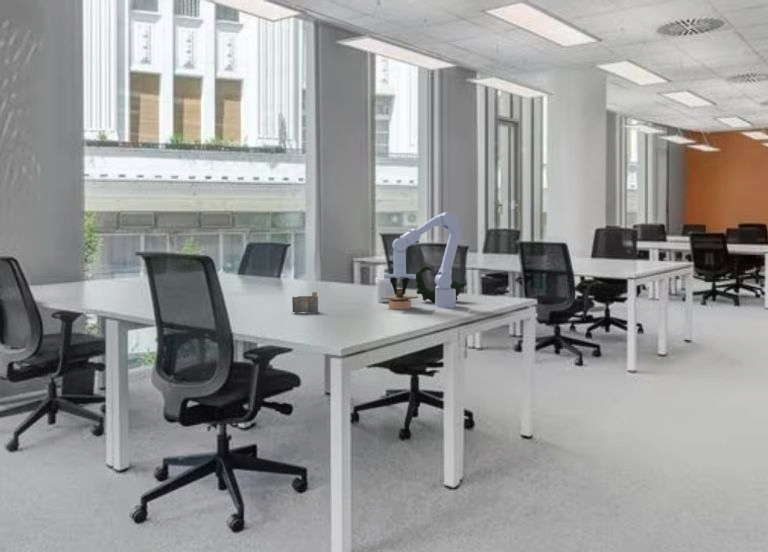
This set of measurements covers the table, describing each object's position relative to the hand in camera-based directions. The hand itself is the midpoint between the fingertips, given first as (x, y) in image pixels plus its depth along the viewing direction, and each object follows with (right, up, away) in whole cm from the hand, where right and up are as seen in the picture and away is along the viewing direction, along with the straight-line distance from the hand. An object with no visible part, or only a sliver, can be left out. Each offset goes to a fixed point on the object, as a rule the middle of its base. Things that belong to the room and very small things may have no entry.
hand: (399, 294), depth 316 cm
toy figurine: (+21, -5, +24) cm, 32 cm away
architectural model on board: (-43, -9, -7) cm, 44 cm away
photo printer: (-6, -5, +25) cm, 26 cm away
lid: (0, -2, 0) cm, 2 cm away
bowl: (0, -7, +1) cm, 7 cm away
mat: (+8, -8, -13) cm, 18 cm away
